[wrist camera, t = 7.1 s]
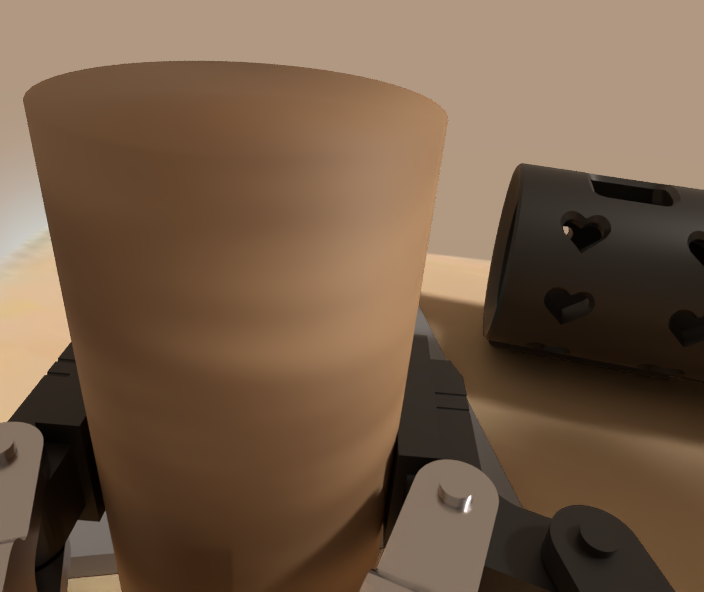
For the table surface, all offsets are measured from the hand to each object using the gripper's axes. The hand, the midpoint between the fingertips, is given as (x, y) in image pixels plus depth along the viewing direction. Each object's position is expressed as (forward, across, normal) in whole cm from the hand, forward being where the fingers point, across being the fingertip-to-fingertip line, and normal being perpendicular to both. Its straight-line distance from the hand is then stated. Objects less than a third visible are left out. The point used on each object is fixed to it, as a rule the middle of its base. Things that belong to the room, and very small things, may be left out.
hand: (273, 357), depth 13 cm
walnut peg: (-3, 0, +8) cm, 8 cm away
